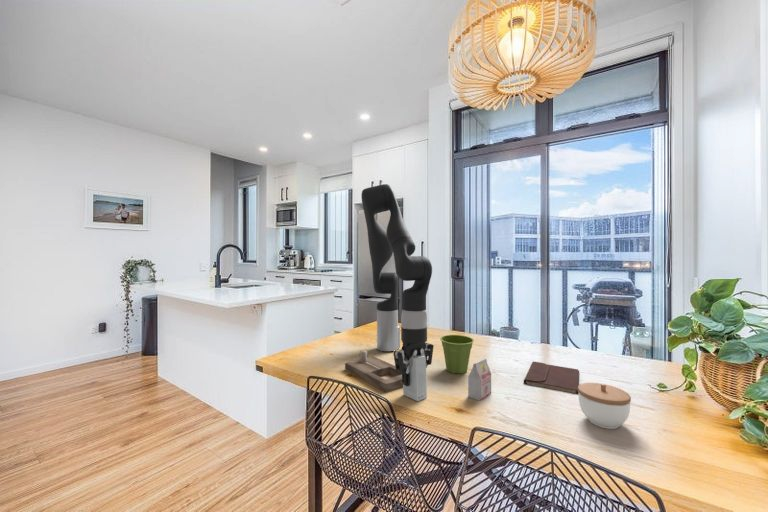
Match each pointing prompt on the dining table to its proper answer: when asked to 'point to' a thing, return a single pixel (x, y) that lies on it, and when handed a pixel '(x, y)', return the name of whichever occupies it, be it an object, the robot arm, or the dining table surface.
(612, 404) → the lidded jar
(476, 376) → the milk carton
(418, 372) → the skincare box
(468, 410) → the dining table surface
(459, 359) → the plant pot
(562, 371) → the notebook
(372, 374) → the brown piece
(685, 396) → the dining table surface
